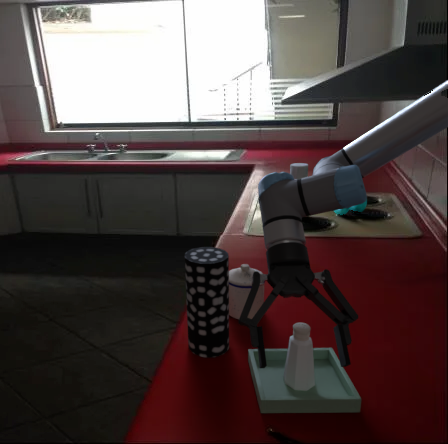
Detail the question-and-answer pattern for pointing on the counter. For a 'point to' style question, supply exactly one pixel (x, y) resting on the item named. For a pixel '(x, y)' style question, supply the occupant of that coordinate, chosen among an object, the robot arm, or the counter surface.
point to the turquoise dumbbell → (352, 208)
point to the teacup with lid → (243, 291)
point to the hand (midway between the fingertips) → (304, 366)
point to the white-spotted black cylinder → (207, 301)
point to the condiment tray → (297, 399)
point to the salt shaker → (300, 359)
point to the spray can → (299, 170)
